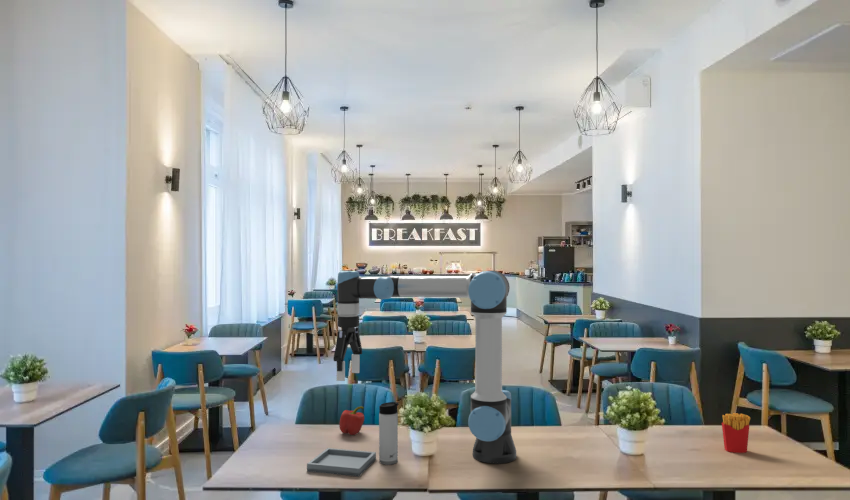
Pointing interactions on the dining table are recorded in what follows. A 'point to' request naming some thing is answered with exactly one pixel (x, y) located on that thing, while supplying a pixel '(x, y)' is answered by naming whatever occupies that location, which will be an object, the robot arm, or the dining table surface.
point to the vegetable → (351, 421)
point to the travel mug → (388, 433)
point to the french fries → (735, 432)
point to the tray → (341, 462)
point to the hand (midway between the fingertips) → (348, 376)
